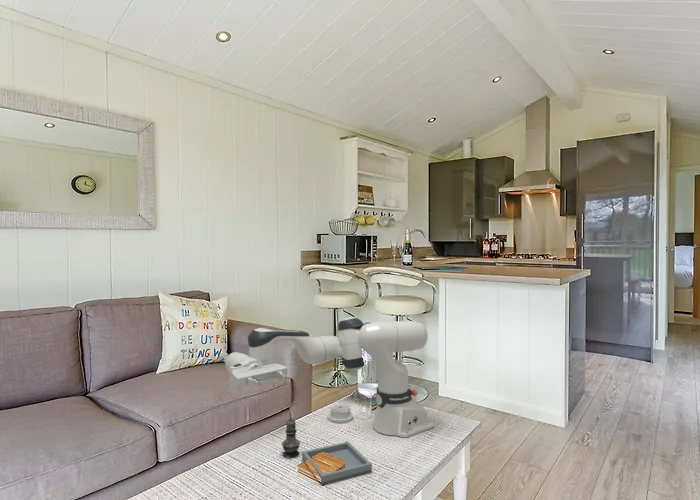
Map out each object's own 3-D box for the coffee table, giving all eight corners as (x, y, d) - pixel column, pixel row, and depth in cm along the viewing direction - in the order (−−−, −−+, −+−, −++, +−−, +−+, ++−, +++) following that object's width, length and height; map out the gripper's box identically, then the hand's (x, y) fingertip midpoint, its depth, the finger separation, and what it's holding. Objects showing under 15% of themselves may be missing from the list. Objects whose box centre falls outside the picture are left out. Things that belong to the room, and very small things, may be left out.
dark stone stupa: (292, 460, 138) (292, 422, 138) (277, 455, 141) (277, 418, 141) (303, 452, 143) (303, 415, 143) (289, 448, 146) (289, 412, 146)
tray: (348, 449, 146) (348, 441, 145) (371, 472, 131) (371, 463, 131) (302, 459, 138) (302, 451, 138) (321, 485, 124) (321, 476, 124)
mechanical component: (324, 422, 167) (350, 425, 165) (324, 411, 167) (350, 413, 165) (330, 412, 177) (355, 414, 175) (330, 401, 176) (355, 403, 174)
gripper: (276, 374, 169) (296, 383, 158) (225, 385, 156) (243, 396, 145) (276, 357, 169) (296, 366, 158) (225, 367, 155) (243, 377, 145)
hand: (270, 380), depth 151 cm, fingers open, 8 cm apart
